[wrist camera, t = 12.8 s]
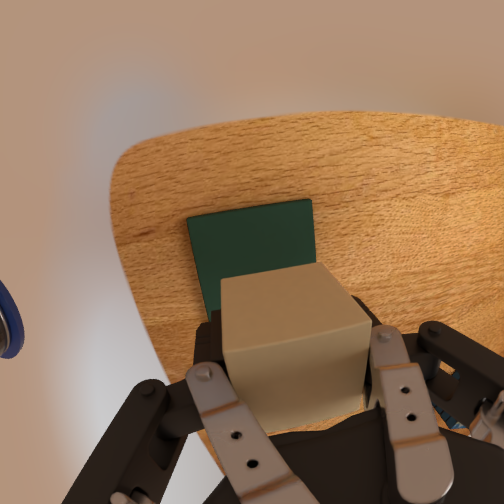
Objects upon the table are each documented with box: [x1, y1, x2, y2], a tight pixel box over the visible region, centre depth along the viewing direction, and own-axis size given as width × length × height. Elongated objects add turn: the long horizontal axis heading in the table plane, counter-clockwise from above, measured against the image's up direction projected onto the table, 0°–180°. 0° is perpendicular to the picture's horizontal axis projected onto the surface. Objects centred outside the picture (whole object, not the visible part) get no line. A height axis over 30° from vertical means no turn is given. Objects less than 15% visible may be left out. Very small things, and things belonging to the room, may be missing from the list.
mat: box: [187, 199, 316, 322], centre depth 19 cm, size 8×8×1 cm
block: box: [221, 262, 372, 433], centre depth 11 cm, size 4×4×5 cm
